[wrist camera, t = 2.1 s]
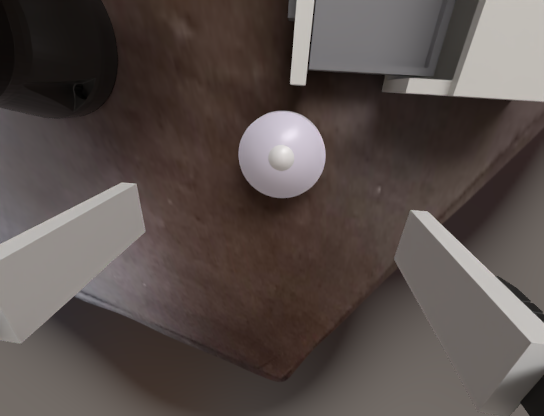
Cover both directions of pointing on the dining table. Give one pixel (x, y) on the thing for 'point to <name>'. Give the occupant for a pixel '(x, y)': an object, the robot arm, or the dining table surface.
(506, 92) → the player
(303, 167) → the lid
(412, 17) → the tray
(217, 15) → the dining table surface
